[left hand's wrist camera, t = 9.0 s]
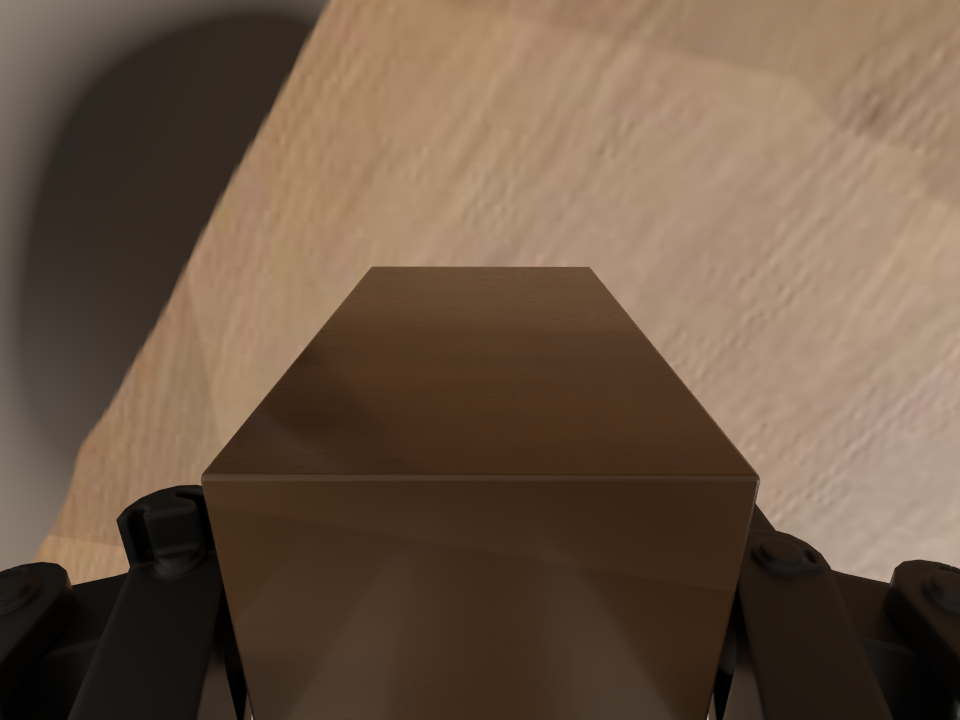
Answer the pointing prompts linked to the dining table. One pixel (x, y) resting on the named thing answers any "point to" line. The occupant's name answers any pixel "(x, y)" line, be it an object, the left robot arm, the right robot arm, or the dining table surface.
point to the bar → (480, 511)
